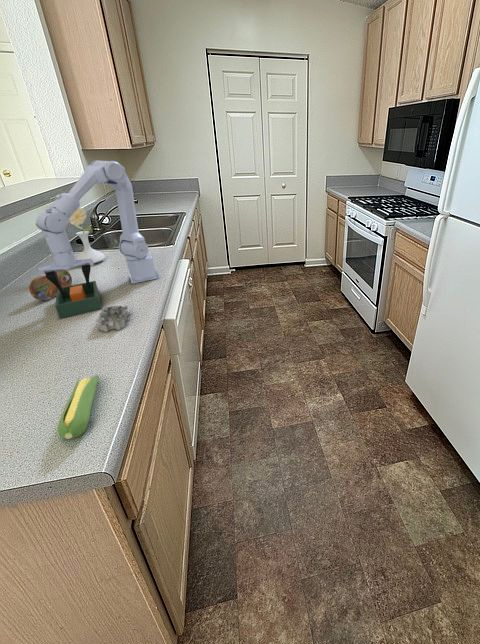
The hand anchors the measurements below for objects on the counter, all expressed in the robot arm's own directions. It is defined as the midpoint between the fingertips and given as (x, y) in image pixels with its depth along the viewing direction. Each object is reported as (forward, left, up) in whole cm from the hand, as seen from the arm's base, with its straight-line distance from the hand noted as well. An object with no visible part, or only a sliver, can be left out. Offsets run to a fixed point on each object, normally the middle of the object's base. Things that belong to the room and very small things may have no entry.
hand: (75, 289), depth 111 cm
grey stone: (-9, +20, -6) cm, 23 cm away
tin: (+8, -14, -6) cm, 17 cm away
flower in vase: (-5, -44, -6) cm, 45 cm away
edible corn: (0, +56, -6) cm, 56 cm away
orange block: (0, 0, -5) cm, 5 cm away
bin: (0, 0, -6) cm, 6 cm away
